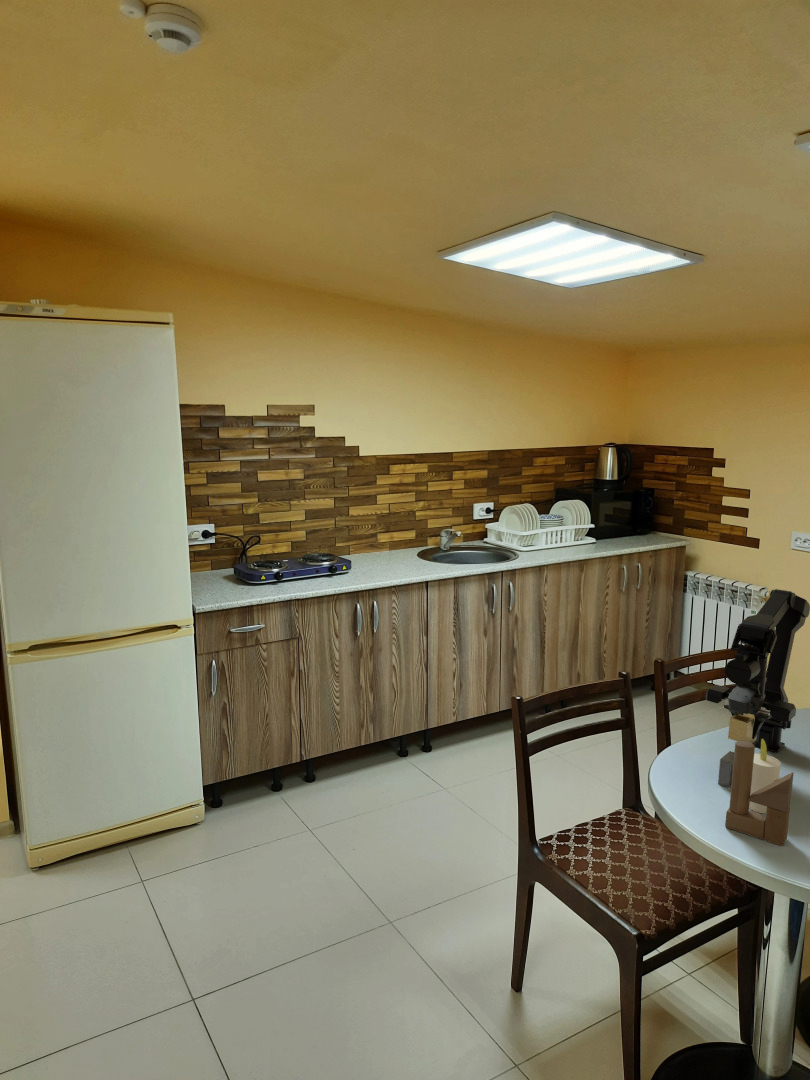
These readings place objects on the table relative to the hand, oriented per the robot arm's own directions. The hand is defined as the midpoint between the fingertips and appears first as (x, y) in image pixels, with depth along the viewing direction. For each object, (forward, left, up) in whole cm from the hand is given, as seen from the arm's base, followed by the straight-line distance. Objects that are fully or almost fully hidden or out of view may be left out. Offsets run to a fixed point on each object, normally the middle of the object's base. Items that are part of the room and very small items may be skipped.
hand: (746, 736), depth 171 cm
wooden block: (+29, +12, -8) cm, 32 cm away
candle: (+17, +9, -8) cm, 21 cm away
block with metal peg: (+8, 0, -8) cm, 11 cm away
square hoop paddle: (+2, 0, -2) cm, 2 cm away
